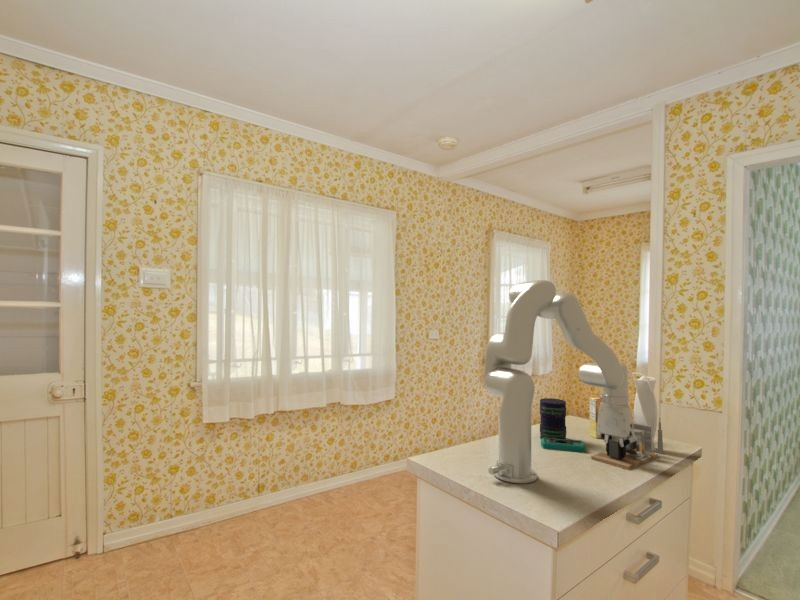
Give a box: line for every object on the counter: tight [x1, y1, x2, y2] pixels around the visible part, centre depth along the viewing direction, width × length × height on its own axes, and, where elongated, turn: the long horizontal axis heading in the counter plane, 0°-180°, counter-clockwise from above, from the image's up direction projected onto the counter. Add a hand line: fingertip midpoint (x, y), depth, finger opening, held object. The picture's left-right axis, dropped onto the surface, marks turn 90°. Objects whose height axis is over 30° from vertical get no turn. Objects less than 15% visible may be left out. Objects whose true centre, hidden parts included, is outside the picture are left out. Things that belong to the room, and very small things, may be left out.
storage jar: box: [539, 397, 567, 440], centre depth 163 cm, size 10×10×15 cm
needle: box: [637, 443, 643, 456], centre depth 137 cm, size 1×2×4 cm
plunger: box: [609, 437, 637, 459], centre depth 139 cm, size 13×6×6 cm, turn 126°
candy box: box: [589, 397, 616, 439], centre depth 167 cm, size 9×4×15 cm, turn 103°
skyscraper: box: [631, 372, 665, 455], centre depth 151 cm, size 8×8×28 cm
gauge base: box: [590, 422, 659, 471], centre depth 141 cm, size 21×12×10 cm, turn 126°
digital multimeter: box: [540, 437, 586, 453], centre depth 152 cm, size 7×15×3 cm, turn 72°
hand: (616, 455), depth 137 cm, fingers closed on plunger, 3 cm apart
